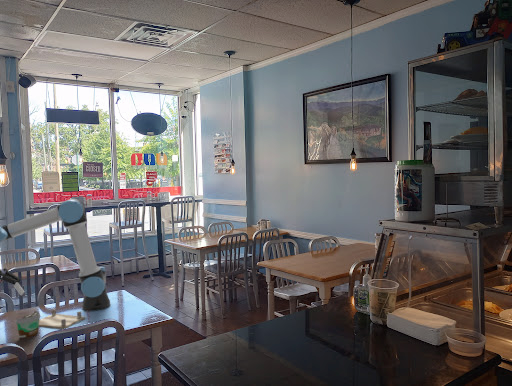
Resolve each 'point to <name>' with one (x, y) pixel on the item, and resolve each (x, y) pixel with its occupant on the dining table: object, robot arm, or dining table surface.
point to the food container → (28, 325)
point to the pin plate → (60, 320)
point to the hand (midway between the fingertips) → (10, 297)
